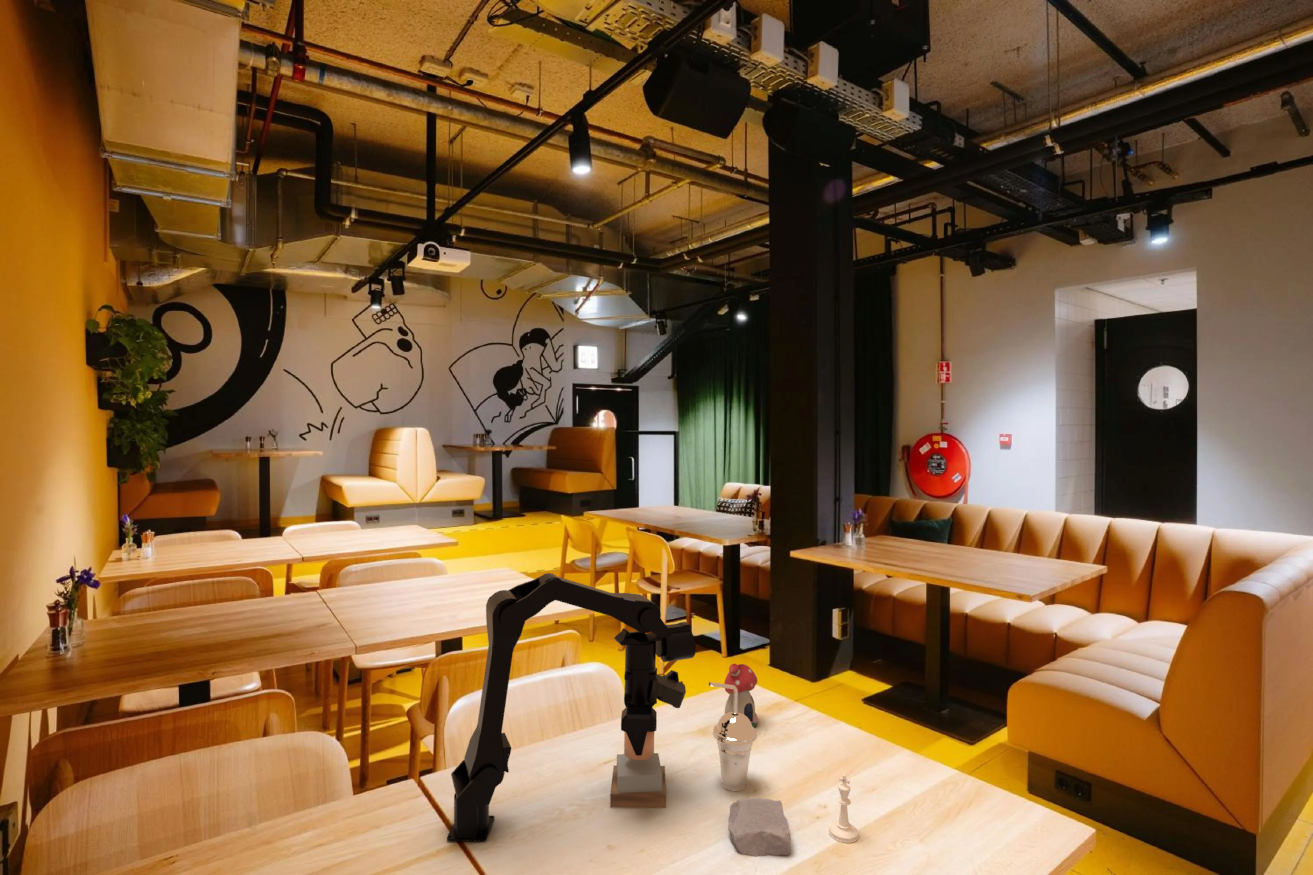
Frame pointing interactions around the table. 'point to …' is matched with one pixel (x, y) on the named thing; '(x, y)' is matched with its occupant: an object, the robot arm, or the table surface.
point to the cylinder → (647, 749)
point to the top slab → (638, 774)
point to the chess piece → (843, 817)
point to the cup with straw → (734, 744)
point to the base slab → (637, 795)
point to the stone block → (759, 827)
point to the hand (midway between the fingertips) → (639, 747)
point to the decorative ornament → (741, 691)
